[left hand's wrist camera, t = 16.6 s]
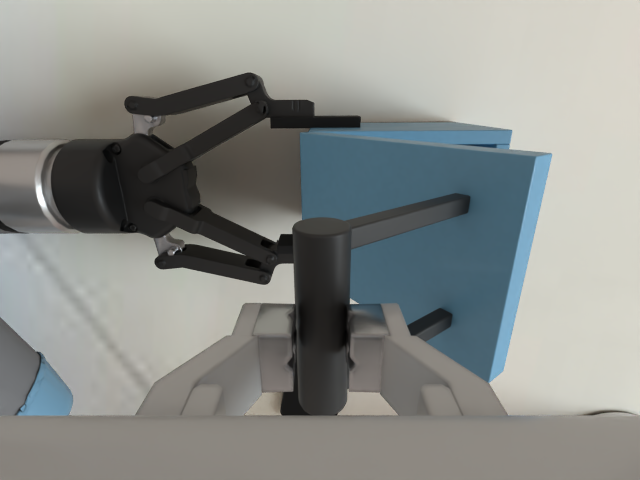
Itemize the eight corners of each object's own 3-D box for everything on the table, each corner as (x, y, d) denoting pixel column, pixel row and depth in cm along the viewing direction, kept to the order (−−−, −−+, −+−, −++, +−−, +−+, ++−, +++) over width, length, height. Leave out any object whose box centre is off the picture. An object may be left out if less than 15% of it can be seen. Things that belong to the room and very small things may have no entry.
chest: (452, 121, 33) (513, 129, 22) (441, 217, 36) (488, 263, 26) (312, 122, 33) (307, 131, 22) (314, 217, 36) (310, 263, 26)
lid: (553, 153, 12) (360, 190, 7) (503, 371, 15) (349, 501, 10) (315, 131, 22) (168, 140, 17) (316, 264, 25) (194, 304, 20)
